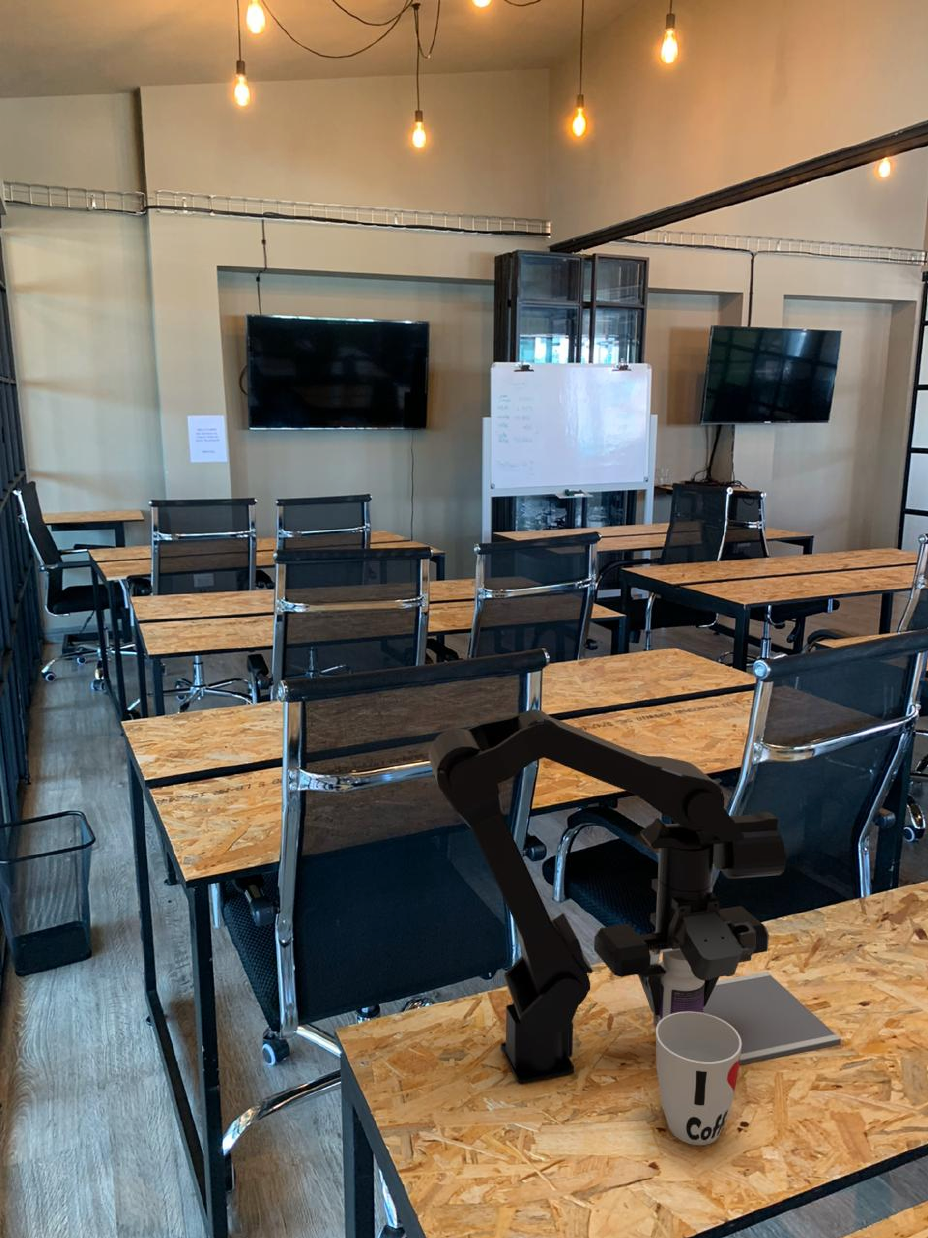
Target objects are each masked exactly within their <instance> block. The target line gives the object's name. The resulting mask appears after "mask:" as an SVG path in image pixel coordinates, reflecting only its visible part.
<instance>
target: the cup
mask: <svg viewBox="0 0 928 1238" xmlns="http://www.w3.org/2000/svg"><path fill="white" fill-rule="evenodd" d="M741 1045H742V1042H741V1038H740V1036H739V1034H738V1032H737V1031H736V1030H735V1029H734V1028H733V1027H732V1026H731V1025H730V1024H728V1023H727V1022H725V1021H723V1020H722V1019H720V1018H717V1017H715V1016H712V1015H709V1014H705V1013H700V1012H691V1011H686V1012H677V1013H673V1014H670V1015H668V1016H666V1017H664V1018H663V1019H662V1020H660V1022H659V1023H658V1025H657V1027H656V1031H655V1049H656V1050H655V1051H656V1052H655V1053H656V1055H655V1056H656V1057H655V1058H656V1072H657V1073H656V1074H657V1079H658V1080H657V1081H658V1088H659V1089H658V1090H659V1095H660V1096H659V1097H660V1102H661V1106H662V1109H663V1113H664V1116H665V1120H666V1123H667V1127H668V1128H669V1131H670V1132H671V1134H672V1135H674V1137H675V1138H677V1139H678V1140H680V1141H682V1142H683V1143H686V1144H689V1145H693V1146H707V1145H710V1144H713V1143H715V1142H716V1141H717V1140H718V1139H719V1137H720V1134H721V1133H722V1130H723V1128H724V1126H725V1124H726V1122H727V1119H728V1117H729V1115H730V1111H731V1107H732V1103H733V1098H734V1096H735V1091H736V1087H737V1084H738V1075H739V1068H740V1067H739V1061H740V1053H741Z"/></svg>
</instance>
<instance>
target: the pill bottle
mask: <svg viewBox="0 0 928 1238" xmlns="http://www.w3.org/2000/svg"><path fill="white" fill-rule="evenodd" d="M659 964H660V965H661V966H662V967H663V968H664V970H665V971H666V974H665V975H664V976H662V977H661V1005H660V1012H659V1015H657V1016H655V1015H654V1014H653V1018H652V1019H653V1020H652V1021H653V1029H654V1031H655V1032H656V1027H657V1025H658V1023H659V1022H660V1020H662V1019H663V1018H664V1017H666V1016H668V1015H670V1014H673V1013H677V1012H686V1011H691V1012H700V1013H703V1004H704V985H705V980H700V979H698V978H697V977H695V976H694V974H693V973H692V971H691V967H690V965H689V964H688V962H687V960H686V958H685V957H684V955H683V953H682V951H681V949H679V950H673V951H667V952H662V960H661V961H659Z"/></svg>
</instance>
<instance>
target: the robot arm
mask: <svg viewBox="0 0 928 1238" xmlns="http://www.w3.org/2000/svg"><path fill="white" fill-rule="evenodd" d="M544 758H545V759H546V760H550V761H552V762H554V763H556V764H559V765H562V766H564V767H567V768H569V769H571V770H574V771H576V772H579V773H580V774H584V775H587V776H588V777H590V778H593V779H596V780H598V781H601V782H603V783H606V784H608V785H611V786H612V787H616V788H617V789H620V790H623V791H625V792H628V793H630V794H633V795H635V796H637V797H638V798H640V799H642V800H643V801H645V802H646V803H647V804H648V805H650V806H651V807H652V808H654V809H656V810H657V811H658V812H659V813H661V814H662V815H663V816H665V817H667V818H668V819H670V820H671V821H673V822H675V823H673V824H672V823H671V824H666V823H664V822H663V821H662V820H661V819H660V818H658V817H656V818H655V819H654V820H653V822H652V823H650V824H649V825H647V826H645V827H644V828H643V829H642V830H640V836H641V837H642V838H643V839H644V840H645V842H646V843H647V844H648V846H649V847H651V849H653V850H658V871H657V873H658V874H657V878H652V879H651V888H652V889H653V890H654V891H655V892H656V912H652V913H651V912H650V920H649V922H650V923H651V924H652V925H653V926H654V927H655V932H652V933H647V934H646V933H645V934H640V935H639V934H638V932H636V930H635V929H634V928H633V926H631V925H630V924H629V923H624V924H618V925H611V926H606V927H600V928H599V929H598V930H597V931H596V932H595V935H594V937H593V938H594V942H593V943H594V944H593V950H594V952H595V953H596V954H597V956H598V957H599V958H600V959H601V961H603V963H604V964H605V966H607V968H608V969H609V971H610V972H611V973H612V974H613V975H614V976H617V977H621V978H623V977H627V976H635V975H637V976H638V979H639V982H640V984H641V986H642V989H643V992H644V995H645V997H646V1000H647V1004H648V1005H649V1008H650V1010H651V1012H652V1014H653V1016H654V1015H655V1016H657V1015H659V1012H660V1005H661V977H662V976H664V975H665V974H666V971H665V970H664V968H663V967H662V966H661V965H660V964H659V963H660V955H661V953H663V952H667V951H673V950H679V949H681V951H682V953H683V955H684V957H685V958H686V960H687V962H688V964H689V965H690V967H691V971H692V973H693V974H694V976H695V977H697V978H698V979H700V980H705V985H704V1004H703V1007H705V1006H706V1004H707V1002H708V1000H709V997H710V995H711V993H712V991H713V989H714V987H715V985H716V983H717V981H719V979H720V977H732V976H734V975H735V974H736V972H737V968H738V965H739V964H740V963H745V962H746V963H747V962H751V961H752V956H753V955H755V954H759V953H760V954H761V953H766V952H768V949H769V944H770V943H769V942H770V941H769V940H770V934H769V931H768V928H767V926H766V925H764V923H763V922H761V921H760V920H759V919H758V918H756V917H755V916H754V915H752V914H751V913H750V912H749V911H748V910H747V909H745V908H744V907H743V906H742V905H740V906H739V905H738V906H733V907H725V908H720V903H719V896H718V895H716V894H715V893H714V892H712V890H713V889H712V887H713V886H712V885H713V868H714V867H715V869H716V870H718V871H721V872H722V874H723V875H724V877H726V878H727V879H747V878H758V877H768V876H769V877H770V876H780V875H782V874H783V873H784V871H785V869H786V866H787V859H788V857H787V856H788V855H787V852H786V851H785V845H784V840H783V837H782V835H781V832H780V831H779V827H778V826H779V819H778V818H777V817H775V815H773V814H772V813H770V812H768V811H765V812H757V813H754V814H748V815H747V814H746V815H743V814H742V815H730V814H729V813H728V812H727V810H726V809H725V808H724V807H725V796H724V791H723V789H722V787H720V785H718V783H716V781H714V780H713V779H712V778H711V777H709V775H707V774H706V773H704V772H703V771H702V770H701V768H699V767H697V766H696V765H694V763H692V762H689V761H686V760H682V759H676V758H672V757H667V756H657V755H656V756H653V755H647V754H640V753H637V752H636V751H633V750H630V749H628V748H627V747H623V746H621V745H619V744H616V743H614V742H612V741H610V740H606V739H605V738H602V737H599V736H597V735H595V734H592V733H589V732H588V731H586V730H583V729H580V728H579V727H576V726H574V725H571V724H568V723H566V722H564V721H561V720H559V719H556V718H554V717H552V716H550V715H549V714H547V712H545V711H543V710H540V709H536V708H535V709H533V708H532V709H528V710H526V711H523V712H520V713H518V714H515V715H513V716H511V717H504V718H499V719H495V720H489V721H484V722H481V723H478V724H475V725H473V726H471V727H467V728H451V729H448V730H444V731H443V732H442V733H440V734H439V735H437V736H436V738H435V739H434V740H433V742H432V743H431V745H430V749H429V750H428V760H429V763H430V766H431V770H432V772H433V774H434V775H433V776H434V777H435V780H436V783H437V786H438V788H439V790H440V792H441V793H442V794H443V796H444V797H445V798H446V800H447V801H448V803H449V804H450V805H451V807H452V808H453V810H455V812H456V814H457V815H458V816H459V817H460V818H461V820H463V822H464V824H466V825H467V827H468V828H469V829H470V830H471V832H472V833H473V835H474V838H475V840H476V842H477V844H478V846H479V849H480V850H481V853H482V855H483V857H484V858H485V859H484V860H485V862H486V863H487V865H488V868H489V870H490V873H491V874H492V877H493V879H494V881H495V883H496V885H497V886H498V889H499V891H500V894H501V895H502V898H503V899H504V902H505V904H506V906H507V908H508V910H509V913H510V915H511V918H512V920H513V921H514V923H515V926H516V930H517V936H518V938H517V939H518V942H519V943H518V944H519V946H520V947H519V948H520V950H521V955H522V956H521V957H520V958H519V959H518V960H517V961H516V962H514V964H513V965H511V967H510V968H509V969H508V970H507V971H505V972H504V975H503V978H504V981H505V983H506V985H507V988H508V991H509V994H510V997H511V999H512V1002H513V1003H511V1004H507V1005H506V1006H505V1041H503V1042H501V1043H500V1050H501V1052H502V1054H503V1057H504V1058H505V1059H506V1062H507V1064H508V1066H509V1068H510V1069H511V1071H512V1074H513V1075H514V1077H515V1079H516V1082H518V1083H519V1084H526V1083H532V1082H535V1081H537V1082H538V1081H542V1080H546V1079H551V1078H556V1077H560V1076H566V1075H570V1074H574V1073H575V1065H574V1064H573V1062H572V1061H571V1059H570V1058H572V1056H573V1054H574V1053H573V1051H574V1022H573V1021H574V1018H575V1015H576V1013H577V1010H578V1008H579V1006H580V1005H581V1004H582V1003H583V1001H584V1000H585V999H586V998H587V995H588V994H589V993H588V992H590V991H591V982H590V978H589V975H588V974H592V973H594V970H593V968H592V966H591V964H590V962H589V961H588V959H587V956H586V955H585V953H584V952H583V951H584V950H582V947H581V943H580V940H579V938H578V936H577V935H576V933H575V931H574V929H573V928H572V926H571V923H570V922H569V920H568V918H567V916H566V915H565V913H564V912H563V913H561V914H560V915H558V916H557V917H555V918H553V916H551V914H550V913H549V912H548V911H547V909H546V907H545V904H544V902H543V899H542V896H541V895H540V893H539V890H538V889H537V886H536V884H535V882H534V880H533V878H532V876H531V873H530V870H529V869H528V867H527V864H526V863H525V860H524V858H523V856H522V854H521V851H520V849H519V847H518V845H517V842H516V840H515V838H514V836H513V834H512V831H511V830H510V827H509V825H508V823H507V820H506V818H505V817H504V816H505V815H504V812H503V805H502V800H501V793H500V788H499V784H501V783H504V782H506V781H508V780H510V779H512V778H513V777H514V776H516V775H517V774H518V773H520V772H521V771H523V770H524V769H526V768H527V767H528V766H530V765H531V764H532V763H533V762H537V761H539V760H541V759H544Z"/></svg>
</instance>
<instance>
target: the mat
mask: <svg viewBox="0 0 928 1238" xmlns="http://www.w3.org/2000/svg"><path fill="white" fill-rule="evenodd" d="M703 1013H705V1014H709V1015H712V1016H715V1017H717V1018H720V1019H722V1020H723V1021H725V1022H727V1023H728V1024H730V1025H731V1026H732V1027H733V1028H734V1029H735V1030H736V1031H737V1032H738V1034H739V1036H740V1038H741V1042H742V1045H741V1053H740V1061H739V1066H743V1065H747V1064H748V1065H749V1064H753V1063H758V1062H763V1061H767V1060H772V1059H776V1058H781V1057H786V1056H790V1055H795V1054H800V1053H805V1052H808V1051H813V1050H814V1051H815V1050H819V1049H823V1048H827V1047H833V1046H836V1045H841V1042H842V1038H841V1037H840V1036H839V1035H838V1034H837V1033H835V1032H834V1031H833V1030H832V1029H830V1028H829V1027H828V1026H827V1024H825V1023H824V1022H823V1021H822V1020H821V1019H819V1017H817V1016H816V1015H815V1014H814V1013H813V1012H812V1011H811V1010H810V1009H809V1008H808V1007H807V1006H805V1005H804V1004H803V1003H802V1002H801V1001H800V1000H799V999H798V998H796V997H795V996H794V995H793V994H792V993H791V992H790V991H789V990H788V989H787V988H786V987H785V986H783V985H782V984H781V983H780V982H779V981H778V980H777V979H775V977H773V976H772V974H771V973H770V972H769V971H764V972H763V971H762V972H757V973H753V974H747V975H741V976H736V977H730V978H724V979H720V980H719V979H718V981H717V983H716V985H715V987H714V989H713V991H712V993H711V995H710V997H709V1000H708V1002H707V1004H706V1006H705V1007H703Z"/></svg>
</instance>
